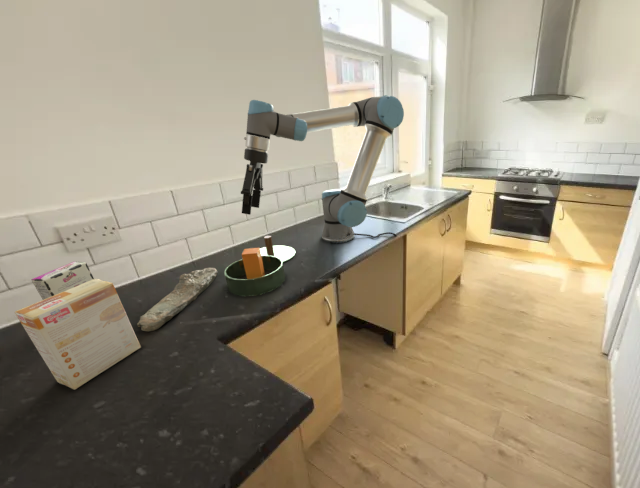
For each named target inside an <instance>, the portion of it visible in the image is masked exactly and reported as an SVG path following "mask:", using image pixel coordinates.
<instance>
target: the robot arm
mask: <svg viewBox="0 0 640 488" xmlns="http://www.w3.org/2000/svg"><path fill="white" fill-rule="evenodd" d="M248 104H249V105H248V110H247V119H246V120H247V121H246V135H245V136H243V137H244V138H243V139H244V140H245V147H246V148H245V149H244V154H243V159H244V160H246V161H249V164H248V163H247V164H246V168H245V174H244V179H243V184H242V188H241V190H240V195H242V204H241V205H242V206H241V214H245V215H249V216H251V214H252V208H256V209H260V204H261V203H260V202H261V194H262V191H264V187H263V168H264V164H268V161H269V160H268V159H269V152H268V151H270V145H271V144H270V142H271V136H274V137H276V138H284V139H287V140H292V141H295V142H296V141H297V142H303V141H305V140H306V138H307V135H308V133H313V132H314V133H315V132H319V131H325V130H331V129H337V128H342V127H348V126H352V127H353V128H357V127H364V128H365V130H366V131H365V134H364V136H363V139H362V142H361V145H360V148H359V150H358V153H357V156H356V159H355V161H354V164H353V167H352V170H351V172H350V175H349V178H348V181H347V182H346V183H347V184H346V186H344V187H343V188H334V189H327V190H323V191H322V193H321V204H322V211H323V212H322V213H323V221H324V224H323V229H322V233H321V239H322V240H323V241H324V242H327V243H330V244H343V243H348V242H350V241H352V240H354V238H355V236H364V237H370V238H372V239H378V238H379V237H380V236H383V235H393V236H395V237H397V236H398V235H397V234H396V233H393V232H389V231H388V232H382V233H379V234H377V235H372V234H366V233H355V232H354V229H353V228H355V227H358V226H360V225H362V224H363V223H364V221H365V220H366V218H367V215H368V210H367V206H366V205H367V202H368V197H367V191H368V188H369V186H370V183H371V180H372V178H373V175H374V173H375V170H376V167H377V165H378V161H379V159H380V157H381V154H382V151H383V149H384V146H385V143H386V140H387V139H389V138H391V137H392V135H393V132H394V130H395V129H396V128H398V127H399V126H400V125H401V124H402V123H403V120H404V116H405V112H404V107H403V104H402V102H401V100H400V99H398V98H397V97H396V96H393V95H389V94H385V95H382V96H371V97H368V98H364V99H361V100H357V101H352V102H349V104H348V105H343V106H337V107H330V108H322V109H316V110H310V111H304V112H296V113H290V114H283V113H280V112H277V111H274V106H273V104H272V103H268V102H265V101H262V100H258V99H251V100H250V101H249V103H248Z"/></svg>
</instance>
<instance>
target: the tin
mask: <svg viewBox="0 0 640 488" xmlns="http://www.w3.org/2000/svg"><path fill="white" fill-rule="evenodd" d="M261 257H262V262H263V267H264V271H272V272H270V273H268V274H265V276H262V277H257V278H252V279H247V278H245V279H244V278H240V277H242V276H244V275H246V272H245V267H244V263H243V259H238V260H236V261H234V262H232V263H230V264H229V265H227V266H226V267H225V269H224V272H223V273H224V278H225V281H226V286H227V289H228V291H229V292H230V294H232V295H235V296H238V297H239V296H241V297H253V296H259V295H263V294H266V293H269V292H272V291H274V290H276V289H278V288H279V287H281V286H282V285H283V284H284V282H285V281H286V274H285V273H286V272H285V268H284V267H285V266H284V263H283V262H282V260H281V259H280V258H278V257H275V256H268V255H261Z"/></svg>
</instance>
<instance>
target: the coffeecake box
mask: <svg viewBox="0 0 640 488" xmlns="http://www.w3.org/2000/svg"><path fill="white" fill-rule="evenodd" d="M122 303H123V302H122V301H121V299H120V297H119V294H118V292H117V289H116V288H115V285H114V283H113V282H110V281H105V280H102V279H99V278H94V279H93V280H90V281H88V282H85V283H83V284H81V285H78V286H76V287H74V288H71V289H69V290H66V291H64V292H61V293H59V294H56V295H54V296H52V297H49V298H47V299H44V300H43V299H41V300H39V301H37V302H35V303H32V304H30V305H28V306H25V307H23V308H20V309H18V310H15V311H14V314H15V316H16V317H17V319H18V321H19V322H20V324H21V326H22V327H23V329H24V330H25V332H26V334H27V336H28V337H29V339H30V340H31V342H32V344H33V346H34V347H35V348H36V350H37V352H38V354H39V355H40V356H41V358H42V360H43V361H44V363H45V365H46V367H47V368H48V369H49V371H50V373H51V374H52V376H53V377H54V379H55V381H56V382H57V383H59V384H60V385H63V386H65V387H68V388H70V389H71V390H74V391H76V390H77V389H78V388H80V387H82V386H83V385H84V384H86V383H87V382H89V381H92V379H94V378H95V377H97V376H99V375H100V374H101V373H103V372H105V371H107V370H108V369H110V368H111V367H113V366H114V365H116V364H117V363H119V362H120V361H122V360H124V359H125V358H128V357H129V356H130V355H131V354H133V353H134V352H136V351H138V350H139V349H141V348H142V345H141V344H140V341H139V340H138V338H137V335H136V333H135V331H134V328H133V326H132V323H131V321H130V319H129V317H128V315H127V312H126V309H125V308H124V305H123V304H122Z"/></svg>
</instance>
